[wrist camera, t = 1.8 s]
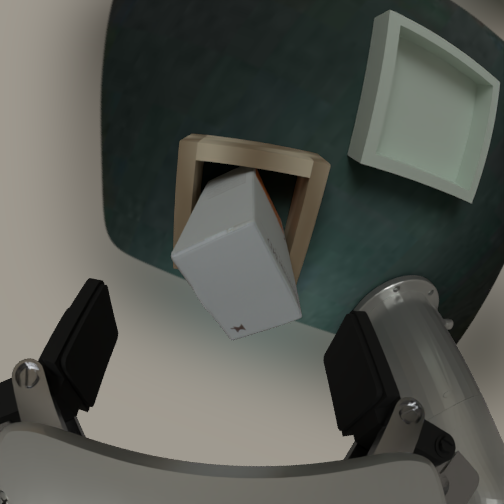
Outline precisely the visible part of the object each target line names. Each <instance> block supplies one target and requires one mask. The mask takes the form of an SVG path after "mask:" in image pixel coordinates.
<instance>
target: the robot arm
mask: <svg viewBox="0 0 504 504" xmlns="http://www.w3.org/2000/svg"><path fill="white" fill-rule="evenodd" d="M438 303H439V296H438V292H437V290H436V288H435V287H434V285H433V284H432V283H431V282H430V281H429V280H428V279H427V278H424V277H422V276H417V275H407V276H402V277H398V278H394V279H392V280H390V281H387V282H385V283H383V284H382V285H380V286H378V287H376V288H375V289H374V290H372V291H371V292H370V293H368V294H367V295H366V296H365V297H364V298H363V299H362V300H361V301H360V302H359V304H358V305H357V306H356V307H355V309H354V310H353V311H351V312H350V313H349V314H347V315H346V316H345V318H344V320H343V322H342V324H341V326H340V328H339V329H338V331H337V333H336V335H335V337H334V339H333V340H332V342H331V344H330V346H329V348H328V349H327V351H326V353H325V355H324V365H325V370H326V374H327V379H328V383H329V388H330V392H331V397H332V401H333V406H334V411H335V415H336V420H337V426H338V429H339V430H340V431H342V435H343V436H349V435H354V439H355V442H354V443H353V445H352V447H351V448H350V450H349V452H348V453H347V455H346V457H345V458H344V460H340V461H333V462H324V463H316V464H306V465H293V466H292V465H291V466H228V465H214V464H204V463H195V462H187V461H180V460H174V459H168V458H162V457H157V456H152V455H147V454H143V453H138V452H134V451H130V450H126V449H122V448H119V447H115V446H111V445H108V444H105V443H101V442H98V441H95V440H92V439H89V438H86V437H85V435H84V433H83V431H82V428H81V426H80V424H79V421H78V419H77V417H76V416H77V413H78V410H79V409H80V410H83V411H86V412H88V410H89V407H93V405H94V403H95V400H96V397H97V394H98V391H99V388H100V385H101V382H102V379H103V376H104V373H105V371H106V368H107V365H108V362H109V359H110V357H111V354H112V352H113V349H114V346H115V344H116V341H117V338H118V330H117V326H116V322H115V318H114V313H113V309H112V305H111V301H110V296H109V291H108V287H107V285H104V282H103V281H101V280H97V279H91V278H89V279H88V280H87V281H86V283H85V284H84V286H83V287H82V289H81V290H80V292H79V293H78V295H77V297H76V298H75V300H74V301H73V303H72V305H71V306H70V308H68V309H67V310H66V312H65V313H64V315H63V316H62V318H61V320H60V321H59V323H58V325H57V327H56V328H55V331H54V332H53V334H52V335H51V337H50V339H49V341H48V343H47V345H46V347H45V348H44V350H43V352H42V354H41V356H40V358H39V361H36V360H34V359H24V360H22V361H20V362H19V363H18V364H17V365H16V366H15V368H14V370H13V372H12V378H10V379H8V380H5V381H3V382H1V383H0V504H504V443H503V441H502V439H501V437H500V434H499V432H498V430H497V428H496V425H495V423H494V421H493V418H492V416H491V414H490V412H489V409H488V407H487V405H486V403H485V400H484V398H483V396H482V394H481V392H480V390H479V388H478V386H477V384H476V382H475V380H474V378H473V376H472V374H471V372H470V370H469V368H468V366H467V364H466V362H465V360H464V358H463V356H462V355H461V353H460V351H459V349H458V347H457V346H456V344H455V342H454V340H453V339H452V337H451V335H450V334H449V332H448V330H447V329H451V328H452V326H453V321H452V320H451V319H443V318H442V317H441V315H440V314H439V312H438V310H437V308H438Z"/></svg>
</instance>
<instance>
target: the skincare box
mask: <svg viewBox="0 0 504 504" xmlns="http://www.w3.org/2000/svg"><path fill="white" fill-rule="evenodd" d="M171 258H172V260H173V262H174V263H175V265H176V266H177V267H178V269H179V270H180V272H181V273H182V275H183V276H184V278H185V279H186V280H187V282H188V283H189V284H190V286H191V287H192V289H193V290H194V292H195V294H196V296H197V298H198V299H199V301H200V302H201V304H202V305H203V306H204V308H205V309H206V310H207V311H208V312H209V313H210V314H211V315H212V316H213V318H214V319H215V320H216V322H217V323H218V324H219V325H220V327H221V328H222V329H223V330H224V332H225V333H226V334H227V335H228V337H229V338H230V339H231V340H235V339H238V338H242V337H245V336H249V335H252V334H255V333H258V332H261V331H265V330H268V329H271V328H274V327H277V326H280V325H283V324H286V323H289V322H292V321H294V320H297V319H299V318H301V317H302V313H301V308H300V303H299V298H298V293H297V288H296V284H295V279H294V274H293V270H292V265H291V261H290V256H289V251H288V247H287V243H286V239H285V234H284V230H283V226H282V221H281V219H280V217H279V215H278V213H277V211H276V209H275V207H274V204H273V202H272V200H271V198H270V196H269V194H268V192H267V190H266V188H265V186H264V183H263V181H262V179H261V177H260V174H259V172H258V170H257V168H252V167H245V166H240V167H238V168H236V169H233V170H231V171H229V172H227V173H225V174H222V175H220V176H218V177H216V178H214V179H212V180H210V181H208V183H207V184H206V186H205V188H204V190H203V192H202V194H201V196H200V198H199V200H198V202H197V204H196V206H195V208H194V210H193V211H192V213H191V216H190V217H189V220H188V222H187V224H186V226H185V227H184V230H183V231H182V233H181V236H180V238H179V240H178V242H177V244H176V245H175V247H174V249H173V251H172V254H171Z"/></svg>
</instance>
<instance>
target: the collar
mask: <svg viewBox="0 0 504 504" xmlns="http://www.w3.org/2000/svg"><path fill="white" fill-rule="evenodd" d="M204 161H208V162H217V163H224V164H232V165H239V166H245V167H252V168H258V169H264V170H270V171H276V172H281V173H287V174H292V175H297V180H296V184H295V189H294V193H293V197H292V202H291V206H290V210H289V214H288V218H287V222H286V227H285V231H284V234H285V239H286V243H287V247H288V251H289V256H290V261H291V265H292V270H293V274H294V279H295V284H297V281H298V278H299V274H300V271H301V268H302V265H303V262H304V258H305V255H306V252H307V249H308V245H309V242H310V239H311V235H312V232H313V228H314V225H315V221H316V218H317V214H318V211H319V207H320V204H321V200H322V196H323V193H324V189H325V185H326V181H327V177H328V174H329V170H330V166H331V165H330V164H329V163H328V162H327V161H326V160H324V159H323V158H322V157H321V156H320V155H318V154H317V153H312V152H308V151H303V150H298V149H293V148H288V147H283V146H278V145H272V144H267V143H261V142H255V141H248V140H242V139H235V138H227V137H219V136H211V135H201V134H191V135H189V136H187V137H185V138H184V139H182V140H180V144H179V154H178V166H177V179H176V194H175V213H174V244H173V249H174V247H175V245H176V244H177V242H178V240H179V238H180V236H181V233H182V231H183V230H184V227H185V226H186V224H187V222H188V220H189V217H190V216H191V213H192V211H193V210H194V208H195V206H196V204H197V202H198V200H199V198H200V194H201V184H202V175H203V166H204ZM173 268H175V269H178V267H177V266H176V265H175V263H174V262H173Z"/></svg>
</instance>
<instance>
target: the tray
mask: <svg viewBox="0 0 504 504" xmlns="http://www.w3.org/2000/svg"><path fill="white" fill-rule="evenodd" d="M499 87H500V82H499V81H498V80H497V79H496V78H494V77H493V76H492V75H491V74H490V73H489V72H487V71H486V70H485V69H484V68H483V67H481V66H480V65H479V64H478V63H476V62H475V61H474V60H473V59H471V58H470V57H469V56H467V55H466V54H465V53H463V52H462V51H460V50H459V49H458V48H456V47H455V46H453V45H452V44H450V43H449V42H447V41H446V40H444V39H443V38H441V37H440V36H438V35H436V34H435V33H433V32H431V31H430V30H428V29H426V28H425V27H423V26H421V25H419V24H417V23H416V22H414V21H412V20H410V19H408V18H406V17H404V16H402V15H400V14H398V13H396V12H394V11H392V10H388V11H387V12H385V13H383V14H381V15H379V16H377V17H375V18H374V24H373V31H372V38H371V44H370V50H369V56H368V62H367V68H366V73H365V78H364V83H363V88H362V93H361V98H360V103H359V107H358V112H357V117H356V121H355V125H354V130H353V134H352V138H351V142H350V146H349V150H348V154H347V155H348V156H350V157H351V158H353V159H354V160H356V161H357V162H359V163H361V164H364V165H368V166H371V167H374V168H378V169H381V170H384V171H387V172H391V173H394V174H397V175H400V176H403V177H406V178H409V179H411V180H414V181H417V182H420V183H423V184H425V185H428V186H431V187H433V188H436V189H438V190H441V191H443V192H446V193H448V194H451V195H453V196H456V197H458V198H460V199H463V200H465V201H467V202H469V203H472V201H473V198H474V196H475V193H476V190H477V187H478V184H479V181H480V177H481V174H482V171H483V167H484V164H485V160H486V157H487V153H488V149H489V145H490V140H491V136H492V131H493V126H494V121H495V116H496V110H497V103H498V95H499Z"/></svg>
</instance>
